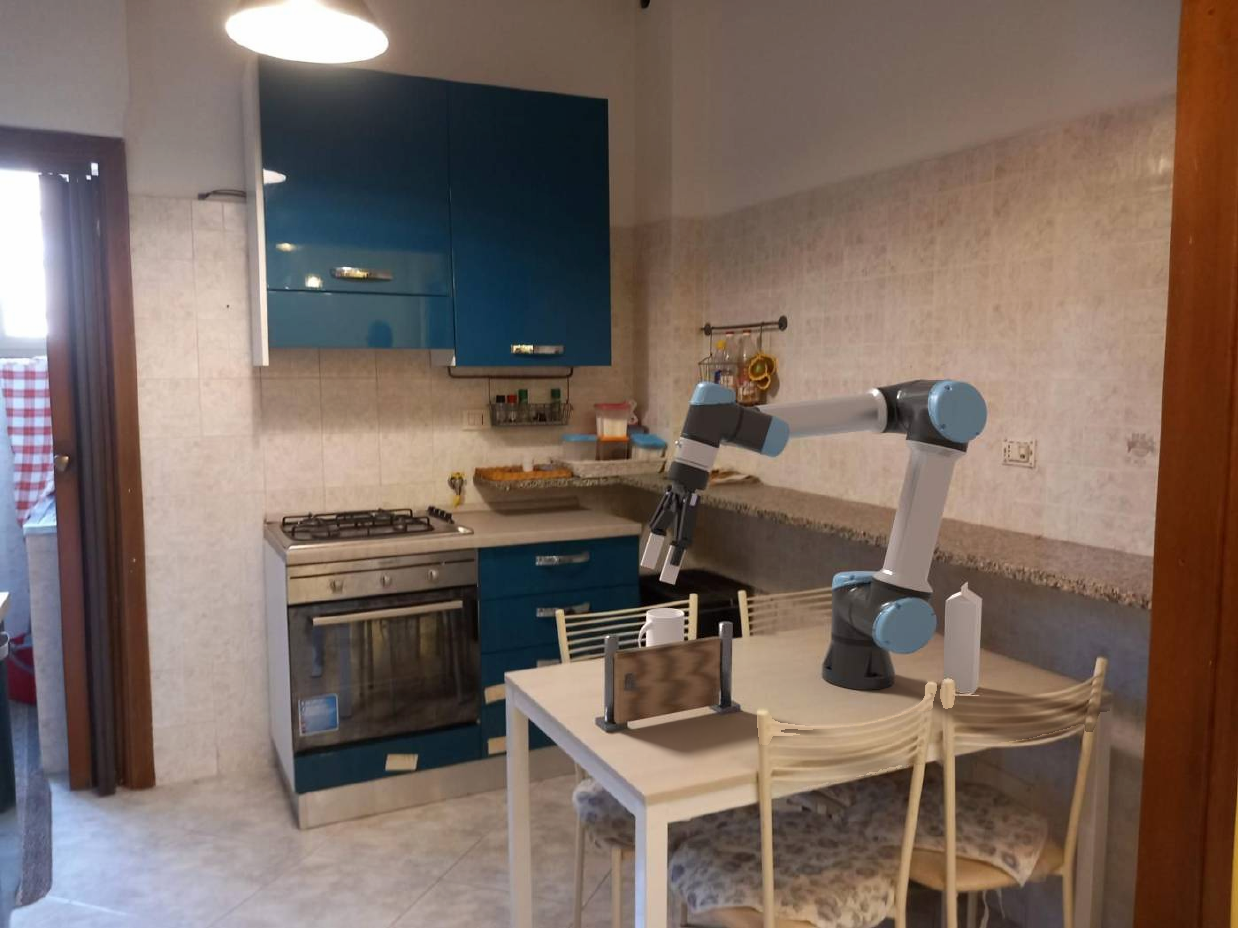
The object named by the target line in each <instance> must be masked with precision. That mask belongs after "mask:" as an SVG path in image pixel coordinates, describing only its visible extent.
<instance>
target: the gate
mask: <svg viewBox="0 0 1238 928" xmlns="http://www.w3.org/2000/svg"><path fill="white" fill-rule="evenodd" d="M720 643H721V638H720V637H719V636H717V635H716V636H714V635H713V636H709V637H704V638H697V639H689V640H688V639H687V640H684V641H682V642H675V643H669V644H662V645H656V646H649V647H646V646H644V647H642V648H639V647H637V648H630V649H624V650H619V651H617V652H613V658H614V722H616V723H617V724H620V723H626V722H628V723H630V722H635V721H641V720H644V719H645V720H646V719H651V718H655V717H659V716H660V717H662V716H665V715H670V714H676V713H683V712H686V711H691V710H692V711H693V710H696V709H701V708H707V707H708V708H709V706H713V705H718V704H719V675H720Z"/></svg>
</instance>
